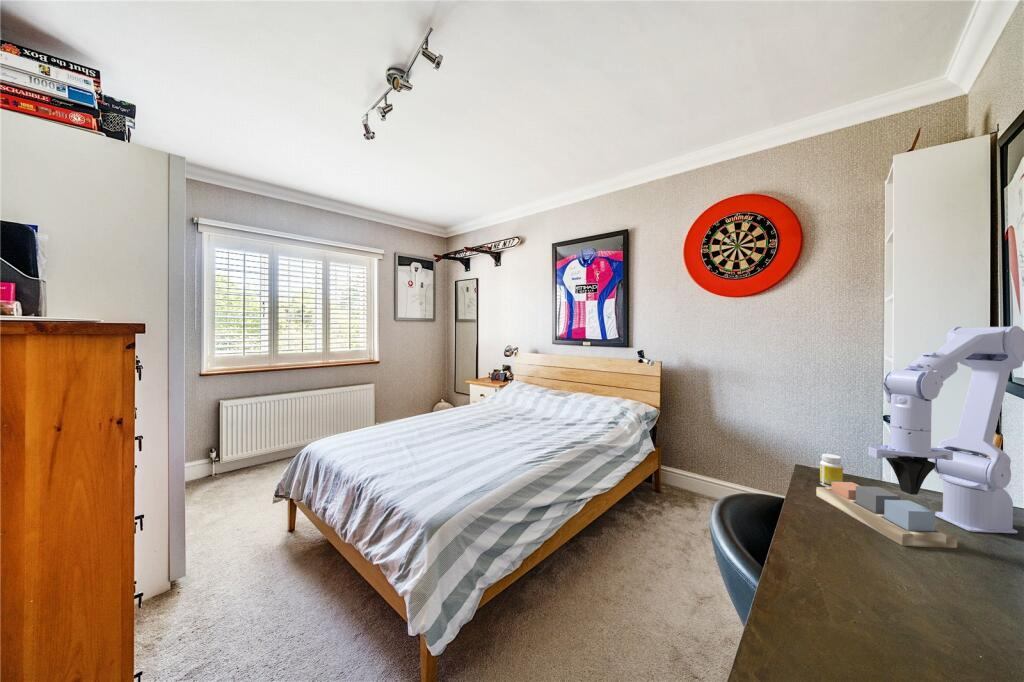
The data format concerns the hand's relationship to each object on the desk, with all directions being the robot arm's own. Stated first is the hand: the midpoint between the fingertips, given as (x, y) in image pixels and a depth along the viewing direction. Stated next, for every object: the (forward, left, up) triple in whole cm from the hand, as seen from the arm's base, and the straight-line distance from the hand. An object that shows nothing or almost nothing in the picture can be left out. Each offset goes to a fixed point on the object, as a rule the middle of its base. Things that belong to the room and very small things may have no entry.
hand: (909, 492), depth 75 cm
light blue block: (0, 0, -7) cm, 7 cm away
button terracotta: (0, -14, -9) cm, 16 cm away
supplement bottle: (-4, -25, -9) cm, 27 cm away
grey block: (0, -7, -7) cm, 10 cm away
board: (0, -7, -9) cm, 11 cm away
